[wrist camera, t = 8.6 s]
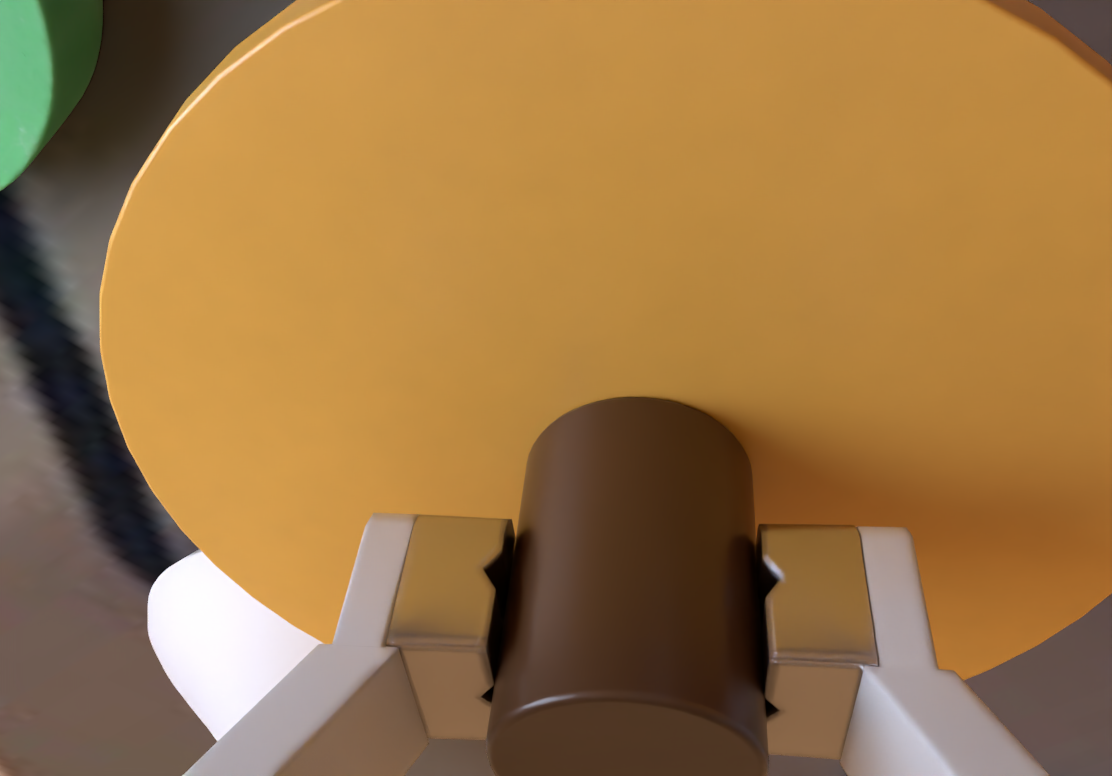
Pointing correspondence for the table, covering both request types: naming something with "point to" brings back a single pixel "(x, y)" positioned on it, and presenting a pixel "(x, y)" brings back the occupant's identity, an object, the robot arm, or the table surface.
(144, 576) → the table surface
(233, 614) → the flower in vase
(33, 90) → the tape roll
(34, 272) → the table surface
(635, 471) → the lid
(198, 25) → the table surface
